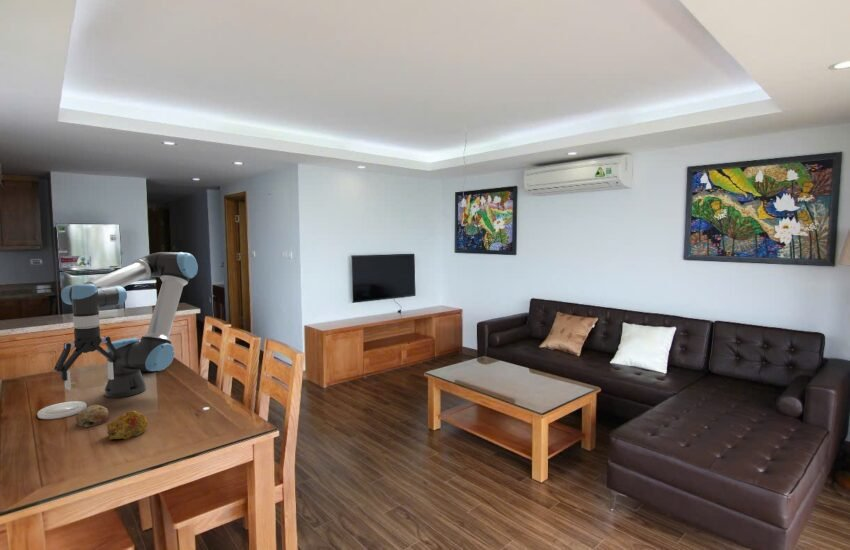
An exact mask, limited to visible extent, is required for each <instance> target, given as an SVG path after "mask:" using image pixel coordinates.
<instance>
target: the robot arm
mask: <svg viewBox="0 0 850 550" xmlns="http://www.w3.org/2000/svg"><path fill="white" fill-rule="evenodd" d="M198 268H199V265H198V262H197V259H196V258H195V256H194V255H193V254H192V253H189V252H183V251H180V252H176V251H175V252H172V251H169V252H168V251H166V252H165V251H160V252H154V253H151V254H148V255H145V256H143V257H139V258H137V259H135V260H133V261H132V262H131V264H129V265H126V266H124V267H121V268H119V269H116V270H114V271H112V272H111V271H110V272H109V273H107V274H104V275H102V276H98V277H96V278H94V279H92V280H88V281H86V282H84V283H80V284H79V283H78V284H73V285H66V286H65V287H64V288H63V289H62V291H61V294H60V297H61V300H62V301H63V303H64V304H66V305H72V317H73V321H72V322H73V327H74V329H73V335H74V341H73V342H63V343H64V344H63V349H62V352H61V353H60V356H59V358H58V360H57V362H56V364H55V366H54V367H53V370H54V371H55V372H57V373H58V372H60V377H61V378H60V379H61V381H63V382H64V389H65V390H68V391H70V390H72V381H71V371H70V370H69V369H70V367H72V366H73V364H74V363H75V361H77V359H78V358H79V357H80V356H82V354H83V353H84V354H87V353H90V352H92V353H93V352H95V351H97V352H98V353H99V354H100V355H102V356H103V357H105V358H106V360H107V361H106V363H107V381H106V384H105V387H104V396H105V397H107V398H114V399H116V398H124V397H131V396H135V395H137V394H141V393H143V392H144V391H146V390H147V384H146V381H145V378H144V377H143V375H142V374H143V373H141V371H140V370H149V371H155V372H160V371H163V370H166V368H168V367H169V366H170V365H172V362H173V360H174V357H175V351H174V350H175V348H174V346H173V345H172V339H171V338H170V334H171V331H172V327H173V324H174V320H175V317H176V313H177V310H178V307H179V303H180V299H181V296H182V293H183V288H184V287H185V286H186V285H188V284H189V281H190V279H193V278H195V277H196V276H197V274H198V270H199V269H198ZM150 278H159V279H160V280H161V282H162V283H161V286H160V289H159V293H158V296H157V300H156V303H155V305H154V309H153V312H152V315H151V319H150V322H149V326H148V329H147V332H146V333H145V334H144V335H141V338H140V340H139V337H128V338H124V339H122V338H121V339H117V340H114V341H111V337H110V336H107V335H105V336H103V337H101V327H100V326H99V325H100V323H101V322H100V309H102V308H107V307H112V306H113V307H114V306H116V307H117V306H119V305H122V304H124V303H125V302H126V300H127V299H128V293H127V290H126V289H125V287H126V286H128V285H131V284H134V283H135V282H137V281H140V280H142V281H144V280H148V279H150ZM101 343H103V344H104V345H105V346H106V350H105V349H104V348H103V347H101V346H100V345H101ZM73 347H74V348H75V349H74V350H73ZM71 350H73V351H72V354H71V355H70V353H71ZM69 355H70V356H69ZM68 356H69V357H68ZM67 358H68V359H67Z"/></svg>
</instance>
